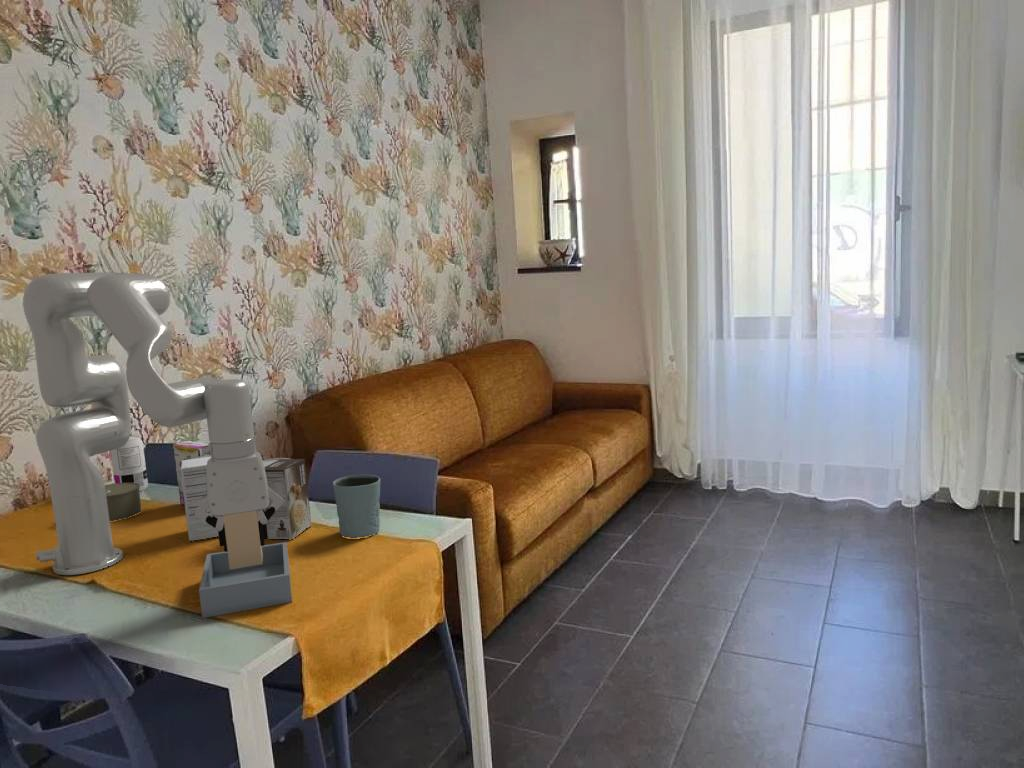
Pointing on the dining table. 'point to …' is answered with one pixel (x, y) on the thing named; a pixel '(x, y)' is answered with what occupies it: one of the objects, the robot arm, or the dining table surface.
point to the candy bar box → (186, 458)
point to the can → (122, 500)
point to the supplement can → (130, 463)
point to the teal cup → (358, 505)
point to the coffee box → (288, 498)
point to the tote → (245, 582)
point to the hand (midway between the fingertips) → (244, 545)
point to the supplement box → (196, 497)
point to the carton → (243, 539)
